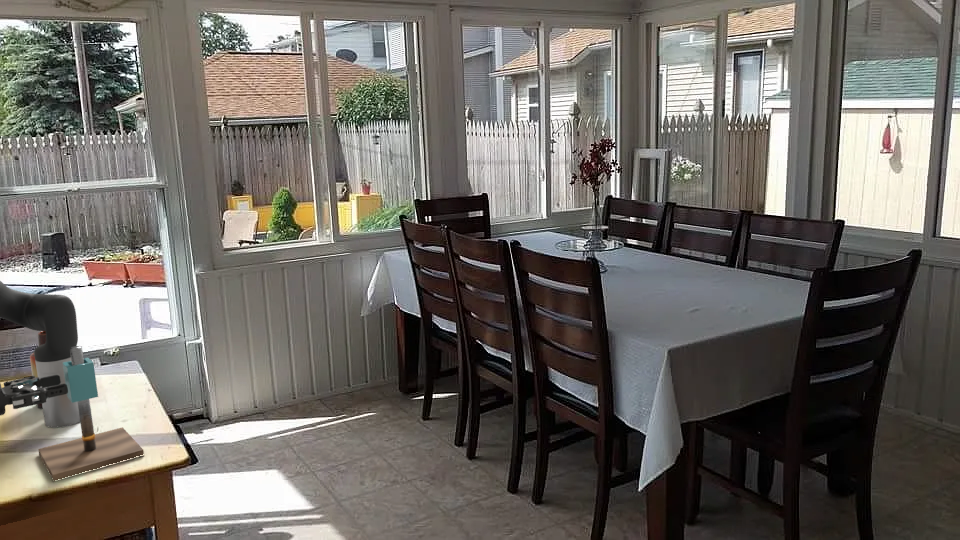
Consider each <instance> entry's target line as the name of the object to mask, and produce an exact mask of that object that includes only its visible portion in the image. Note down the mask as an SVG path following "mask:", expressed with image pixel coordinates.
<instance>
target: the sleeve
mask: <svg viewBox="0 0 960 540" xmlns="http://www.w3.org/2000/svg"><path fill="white" fill-rule="evenodd" d="M83 358H84V357H83ZM63 370H64V377H65V384H66V385H67V388H68V393H67V397H68V398H69V399H70V401H71V402H72V403H73V402H78V401H82V400H86V399H89V400H91V399H94V398H99V393H98V385H97V378H96V372H95V364H94V361H93V360H91V358H89V357H85V358H84V363H83V364H78V365H73V366H72V362H71V361H68V362H63Z"/></svg>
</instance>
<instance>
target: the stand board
mask: <svg viewBox="0 0 960 540" xmlns="http://www.w3.org/2000/svg"><path fill="white" fill-rule="evenodd" d="M95 443H96V449H95V450H93V451H89V452H86V451H84V444H83V441H82V437H80V438H75V439H72V440H68V441H63V442H61V443H57V444H53V445H49V446H45V447H41V448H38V455H39V458H40V457H41V458H40V459H41V460H42V463H43V464H45V465H44V466H45V468H46V470H47V472H48V471H49V472H48V473H50V474H49V475H50V477H51V479H52V478H53V479H52V481H53V480H54V481H53V482H56V481H55V480H58V479H61V480H63V479H62V478H65V477H68V476H72V475H75V474H79V473H82V472H85V471H89V470H93V469H97V468H100V467H102V466H106V465H109V464H113V463H117V462H120V461H123V460H127V459H130V458H134V457H136V456H140V455H143V454H144V455H145V451H144V449H143V448H142V447H141V445H140V444H139V443H138V442H137V441H136V440H135V439H134V438H133V437H132V436H131V435H130V433H128V432H127V430H126V429H125V428H124V427H118V428H115V429H110V430H107V431H103V432H99V433H95ZM100 469H101V468H100ZM97 470H98V469H97ZM93 471H94V470H93ZM79 475H80V474H79ZM72 477H73V476H72ZM65 479H66V478H65ZM58 481H59V480H58Z"/></svg>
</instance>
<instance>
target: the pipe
mask: <svg viewBox="0 0 960 540" xmlns="http://www.w3.org/2000/svg"><path fill="white" fill-rule="evenodd" d="M70 355H71V362H72V366H73V365H78V364H83V363H84V353H83V346H81V345H77V346H75V347H71V348H70ZM90 400H91V399H86V400H82V401H78V402H77V403H78V410H79V417H80V422H79V424H80V430H81V438H82V441H83V444H84V451H86V452H89V451H93V450H95V449H96V443H95V434H96V432H94V431H95V429H94V423H93V416H92V409H91V408H92V407H91V401H90Z"/></svg>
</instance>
